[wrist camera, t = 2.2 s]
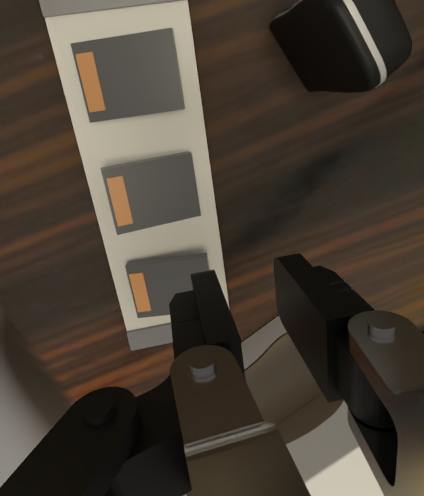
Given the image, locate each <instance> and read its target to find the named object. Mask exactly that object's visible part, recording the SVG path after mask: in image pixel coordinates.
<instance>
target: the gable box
mask: <svg viewBox="0 0 424 496" xmlns="http://www.w3.org/2000/svg"><path fill="white" fill-rule="evenodd" d="M241 347H242V355H243V363H244V370H245V378H246V383H247V385H248V387H249V389H250V391H251V394H252V396H253V398H254V400H255V402H256V404H257V407H258V409H259V411H260V413H261V415H262V417H263V420H264V421H265V423H267V422H270V421H272V422H273V423H274V424H275V425H276V427H277V428H278V430H279V432H280V434H281V436H282V438H283V440H284V442H285V444H286V446H287V448H288V450H289V452H290V454H291V456H292V458H293V460H294V462H295V464H296V466H297V468H298V470H299V473H300V475H301V477H302V479H303V481H304V483H305V485H306V487H307V489H308V491H309V493H310V495H311V496H384V494H383V492H382V490H381V488H380V486H379V484H378V482H377V480H376V478H375V476H374V474H373V472H372V470H371V468H370V466H369V465H368V463H367V461H366V459H365V457H364V455H363V453H362V451H361V449H360V447H359V445H358V443H357V441H356V439H355V437H354V435H353V433H352V431H351V429H350V427H349V424H348V406H347V404H346V403H345V401H344V400H338V401H334V402H329V403H328V402H327V400H326V398H325V396H324V395H323V393H322V391H321V390H320V388H319V386H318V384H317V383H316V381H315V379H314V378H313V376H312V374H311V372H310V371H309V369H308V367H307V366H306V364H305V362H304V360H303V359H302V357H301V355H300V354H299V352H298V350H297V348H296V347H295V345H294V343H293V342H292V340H291V338H290V336H289V335H288V333H287V331H286V330H285V328H284V326H283V324H282V322H281V320H280V317H279V316H277V317H276V318H275V319H273V320H272V321H271V322H269V323H268V324H266V325H265V326H264V327H262V328H261V329H260V330H258V331H257V332H255V333H254V334H253V335H251V336H250V337H249V338H247V339H246V340H244V341H243V342H242V343H241ZM183 496H193V492H192V490H191V491H190V492H188V493H187V494H185V495H183Z"/></svg>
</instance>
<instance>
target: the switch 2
mask: <svg viewBox="0 0 424 496" xmlns="http://www.w3.org/2000/svg"><path fill="white" fill-rule="evenodd" d="M125 268H126V272H127V276H128V280H129V284H130V289H131V293H132V297H133V301H134V305H135V309H136V313H137V317H138V318H144V317H154V316H163V315H170V308H169V303H170V302H171V300H172V298H173V297H174V295H175V294H176V293H181V292H186V291H191V290H193V288H192V283H191V277H190V274H193V273H198V272H203V271H209V270H210V269H209V262H208V256H207V253H198V254H189V255H180V256H172V257H163V258H154V259H146V260H137V261H128V262H127V264H126V266H125Z"/></svg>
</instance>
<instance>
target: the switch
mask: <svg viewBox="0 0 424 496" xmlns="http://www.w3.org/2000/svg"><path fill="white" fill-rule="evenodd" d="M70 44H71V48H72V52H73V56H74V60H75V65H76V69H77V73H78V77H79V81H80V85H81V89H82V93H83V97H84V101H85V105H86V109H87V113H88V117H89V122H90V123H92V122H99V121H106V120H113V119H120V118H127V117H134V116H141V115H148V114H155V113H162V112H169V111H176V110H183V109H185V104H184V98H183V91H182V85H181V78H180V71H179V65H178V58H177V52H176V45H175V39H174V32H173V29H172V28H166V29H159V30H153V31H147V32H140V33H134V34H128V35H121V36H115V37H108V38H102V39H96V40H89V41H83V42H77V43H70Z"/></svg>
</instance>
